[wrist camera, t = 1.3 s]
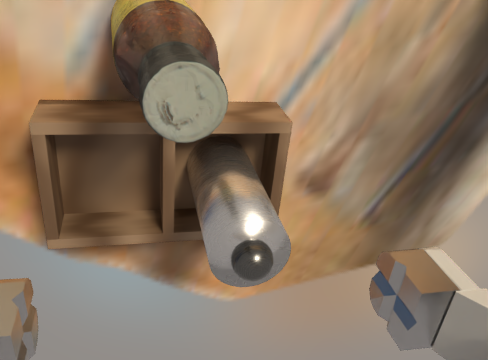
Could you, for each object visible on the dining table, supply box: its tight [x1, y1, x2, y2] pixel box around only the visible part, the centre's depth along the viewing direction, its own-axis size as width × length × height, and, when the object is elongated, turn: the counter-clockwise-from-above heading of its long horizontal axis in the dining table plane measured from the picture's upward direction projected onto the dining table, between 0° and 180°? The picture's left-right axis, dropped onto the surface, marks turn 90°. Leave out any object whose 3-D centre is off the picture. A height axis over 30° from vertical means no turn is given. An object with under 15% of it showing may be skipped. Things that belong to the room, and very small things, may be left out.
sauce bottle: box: [111, 0, 228, 143], centre depth 29 cm, size 7×6×20 cm
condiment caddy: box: [29, 100, 292, 249], centre depth 42 cm, size 21×12×5 cm, turn 85°
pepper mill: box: [187, 136, 291, 287], centre depth 37 cm, size 6×6×16 cm
